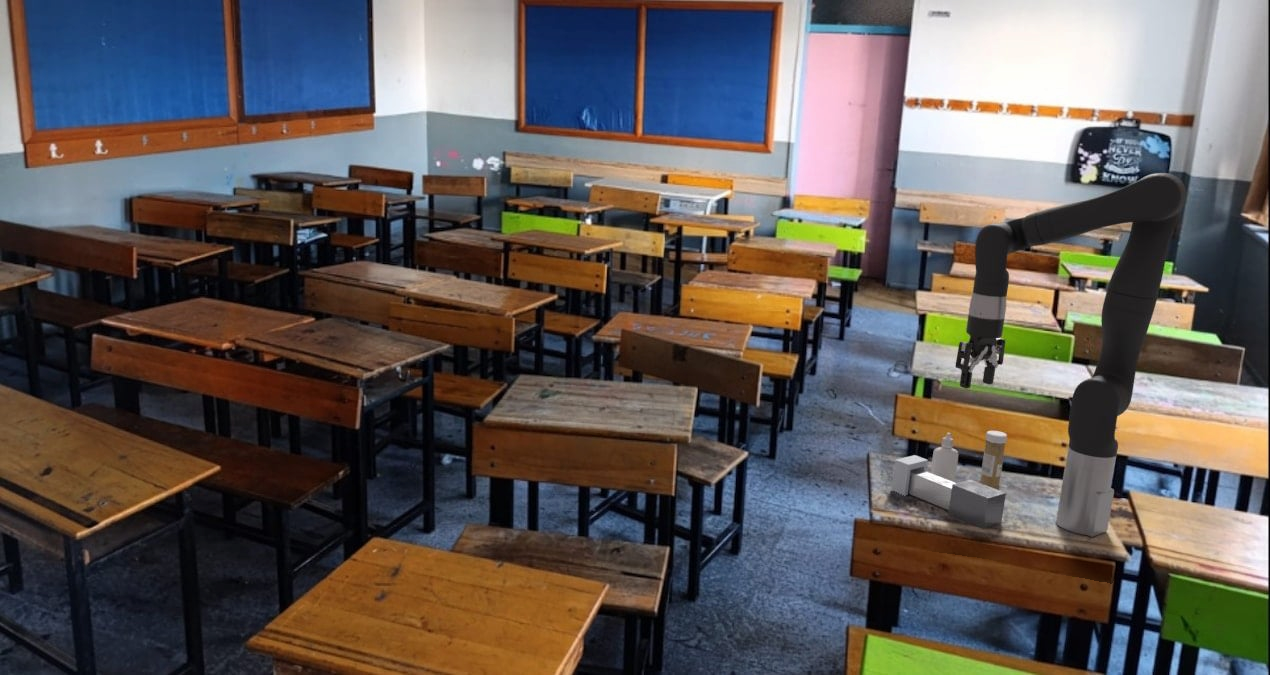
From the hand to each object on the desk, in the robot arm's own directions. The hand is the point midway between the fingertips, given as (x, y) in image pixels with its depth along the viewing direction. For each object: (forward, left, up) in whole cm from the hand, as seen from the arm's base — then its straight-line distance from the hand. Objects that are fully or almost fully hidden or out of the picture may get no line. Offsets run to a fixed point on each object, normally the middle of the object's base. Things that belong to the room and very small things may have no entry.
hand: (976, 385), depth 213 cm
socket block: (+8, +9, -26) cm, 29 cm away
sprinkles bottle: (0, -11, -26) cm, 29 cm away
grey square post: (0, +9, -26) cm, 27 cm away
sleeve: (-10, +9, -26) cm, 29 cm away
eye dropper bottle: (+8, -4, -26) cm, 28 cm away
